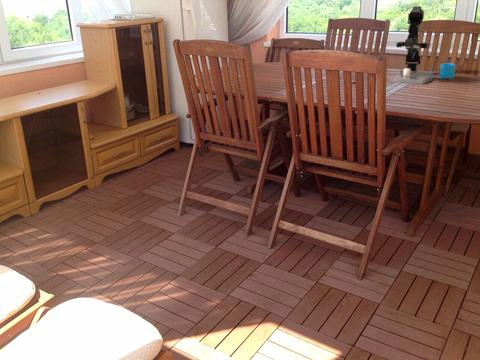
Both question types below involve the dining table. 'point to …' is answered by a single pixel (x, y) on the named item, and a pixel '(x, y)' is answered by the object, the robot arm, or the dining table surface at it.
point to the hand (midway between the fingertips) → (411, 59)
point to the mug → (447, 70)
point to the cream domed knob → (406, 72)
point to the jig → (413, 77)
